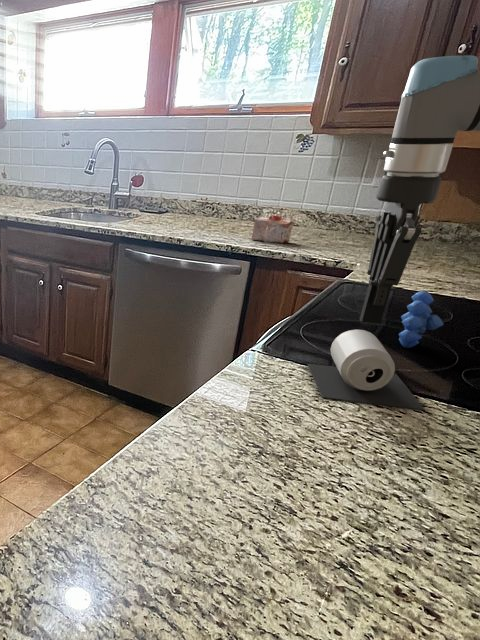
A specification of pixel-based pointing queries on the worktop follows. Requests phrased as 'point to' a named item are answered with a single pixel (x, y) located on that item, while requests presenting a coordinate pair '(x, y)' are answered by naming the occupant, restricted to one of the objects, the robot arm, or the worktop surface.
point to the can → (362, 360)
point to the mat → (337, 389)
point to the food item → (272, 229)
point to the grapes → (418, 319)
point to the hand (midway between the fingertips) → (369, 321)
